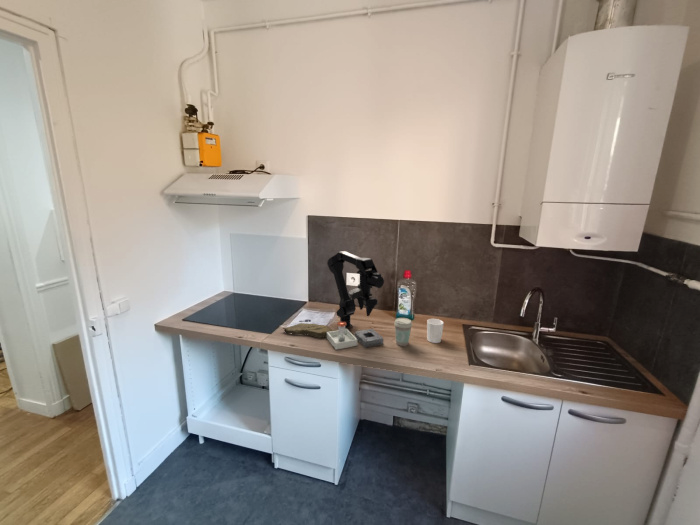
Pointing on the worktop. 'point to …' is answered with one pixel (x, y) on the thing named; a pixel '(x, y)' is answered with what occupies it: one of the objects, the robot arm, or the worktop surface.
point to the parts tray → (349, 342)
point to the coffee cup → (402, 331)
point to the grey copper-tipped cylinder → (341, 331)
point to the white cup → (434, 330)
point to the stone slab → (309, 329)
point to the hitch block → (368, 338)
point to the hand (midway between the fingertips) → (364, 312)
